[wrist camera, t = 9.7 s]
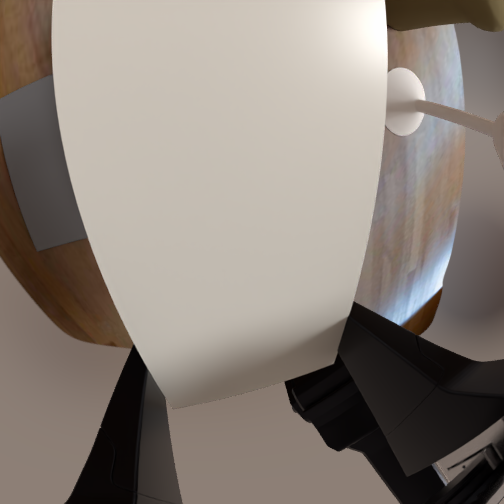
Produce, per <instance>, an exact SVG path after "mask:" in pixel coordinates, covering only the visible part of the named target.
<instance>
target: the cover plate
mask: <svg viewBox="0 0 504 504" xmlns="http://www.w3.org/2000/svg"><path fill="white" fill-rule="evenodd" d="M52 65H53V79H54V90H55V99H56V107H57V114H58V120H59V127H60V132H61V138H62V143H63V148H64V153H65V158H66V162H67V167H68V171H69V175H70V179H71V183H72V187H73V190H74V194H75V198H76V201H77V205H78V208H79V211H80V215H81V218H82V221H83V224H84V227H85V230H86V233H87V236H88V239H89V242H90V245H91V247H92V250H93V253H94V256H95V258H96V261H97V263H98V266H99V269H100V271H101V274H102V276H103V278H104V281H105V283H106V286H107V288H108V290H109V293H110V295H111V297H112V299H113V302H114V304H115V306H116V308H117V310H118V312H119V315H120V317H121V319H122V321H123V323H124V325H125V327H126V329H127V331H128V333H129V335H130V337H131V339H132V341H133V343H134V344H135V346H136V348H137V350H138V352H139V354H140V356H141V357H142V359H143V361H144V363H145V365H146V366H147V368H148V370H149V372H150V373H151V375H152V377H153V378H154V380H155V382H156V383H157V385H158V387H159V388H160V390H161V391H162V393H163V395H164V396H165V398H166V399H167V401H168V402H169V404H170V405H171V407H172V409H177V408H182V407H187V406H193V405H197V404H202V403H207V402H211V401H216V400H220V399H224V398H228V397H232V396H236V395H240V394H244V393H247V392H251V391H254V390H258V389H261V388H265V387H268V386H271V385H275V384H278V383H281V382H284V381H287V380H290V379H293V378H296V377H299V376H302V375H305V374H308V373H310V372H313V371H316V370H318V369H321V368H324V367H326V366H329V365H332V364H334V362H335V359H336V356H337V353H338V351H337V350H338V346H339V343H340V340H341V337H342V334H343V331H344V328H345V324H346V321H347V318H348V316H349V314H350V311H351V307H352V304H353V300H354V297H355V293H356V289H357V285H358V281H359V277H360V273H361V269H362V265H363V261H364V256H365V252H366V247H367V243H368V238H369V233H370V228H371V223H372V217H373V212H374V206H375V200H376V194H377V188H378V181H379V174H380V166H381V158H382V149H383V140H384V129H385V116H386V100H387V24H386V9H385V0H53V9H52Z"/></svg>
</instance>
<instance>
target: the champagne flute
mask: <svg viewBox="0 0 504 504" xmlns="http://www.w3.org/2000/svg"><path fill="white" fill-rule="evenodd" d="M424 113H425V114H428V115H432V116H435V117H438V118H441V119H445V120H448V121H451V122H454V123H457V124H459V125H462V126H465V127H468V128H470V129H473V130H476V131H478V132H481V133H483V134H486V135H488V136H490V137H493V142H494V146H495V149H496V151H497V154H498V156H499V159H500V161H501V164H502V167H503V169H504V112H502V113H501V114H500V115H499V116H498V117H497V119H496V121H495V122H493V121H490V120H488V119H485V118H482V117H479V116H477V115H474V114H471V113H468V112H464V111H461V110H458V109H455V108H451V107H448V106H444V105H441V104H437V103H433V102H429V101H425V93H424V89H423V87H422V84H421V82H420V80H419V79H418V78H417V76H416V75H415V74H414V73H413V72H412V71H410V70H408V69H406V68H395V69H392V70H391V71H389V72H388V73H387V100H386V116H385V125H386V127H387V128H388V129H389V130H390V131H391V132H392V133H394V134H396V135H399V136H406V135H409V134H411V133H413V132H414V131H415V130H416V129H417V128H418V127H419V125H420V123H421V121H422V119H423V116H424Z"/></svg>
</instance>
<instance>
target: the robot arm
mask: <svg viewBox="0 0 504 504" xmlns="http://www.w3.org/2000/svg"><path fill="white" fill-rule="evenodd" d="M337 351H338V353H337V356H336V359H335V362H334V364H332V365H329V366H326V367H324V368H321V369H318V370H316V371H313V372H310V373H308V374H305V375H302V376H299V377H296V378H293V379H290V380H287V381H284V382H285V386H286V389H287V393H288V397H289V400H290V404H291V405H292V409H293V411H294V412H295V413H298V414H299V415H300V416H301V417H302V418H303V419H304V420H305V421H307V422H309V423H312V424H313V425H314V426H315V428H316V429H317V430H318V432H319V433H320V435H321V436H322V438H323V440H324V441H325V443H326V444H327V446H328V447H330V448H332V449H334V450H336V451H342V450H343V449H345V448H349V449H352V450H355V451H358V452H361V453H363V455H364V456H365V457H366V458H367V460H368V461H369V462H370V464H371V465H372V466H373V468H374V469H375V471H376V472H377V473H378V475H379V476H380V477H381V479H382V480H383V481H384V483H385V484H386V486H387V487H388V488H389V490H390V491H391V492H392V493H393V495H394V496H395V497H396V499H397V500H398V501H399V503H400V504H499V502H500V501H501V500H502V499H503V498H504V359H502V360H495V361H487V362H479V361H474V360H471V359H468V358H466V357H463V356H461V355H458V354H456V353H454V352H451V351H449V350H447V349H444V348H442V347H440V346H438V345H436V344H434V343H431V342H430V341H428V340H425V339H424V338H422V337H420V336H418V335H415V334H414V333H412V332H410V331H409V330H407V329H405V328H403V327H401V326H399V325H397V324H395V323H394V322H392V321H390V320H388V319H386V318H384V317H382V316H380V315H379V314H377V313H375V312H373V311H371V310H369V309H367V308H365V307H364V306H362V305H360V304H358V303H356V302H354V301H353V304H352V307H351V311H350V314H349V316H348V318H347V321H346V324H345V328H344V331H343V334H342V337H341V340H340V343H339V346H338V350H337ZM436 462H438V463H439V465H440V466H441V468H442V470H443V471H444V473H445V474H446V475H447V477H448V478H449V480H450V482H448V481H447V479H446V478H445V476H444V475H443V473H442V472H441V470H440V469H439V467H438V465H437V464H436ZM64 504H183V503H182V499H181V494H180V489H179V484H178V479H177V474H176V469H175V463H174V457H173V452H172V445H171V439H170V431H169V424H168V416H167V408H166V400H165V396H164V395H163V393H162V391H161V390H160V388H159V387H158V385H157V383H156V382H155V380H154V378H153V377H152V375H151V373H150V372H149V370H148V368H147V366H146V365H145V363H144V361H143V359H142V357H141V356H140V354H139V352H138V350H137V348H136V346H135V344H134V345H133V347H132V349H131V352H130V354H129V356H128V358H127V361H126V363H125V365H124V368H123V370H122V373H121V375H120V377H119V380H118V382H117V385H116V387H115V389H114V392H113V395H112V397H111V400H110V402H109V405H108V407H107V410H106V413H105V415H104V418H103V421H102V423H101V428H100V429H99V431H98V434H97V437H96V439H95V442H94V445H93V447H92V450H91V452H90V455H89V457H88V459H87V461H86V463H85V466H84V468H83V470H82V472H81V474H80V476H79V479H78V481H77V483H76V485H75V487H74V489H73V492H72V493H71V496H70V497H69V498H68V500H67V501H66V502H65V503H64Z"/></svg>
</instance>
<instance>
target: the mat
mask: <svg viewBox="0 0 504 504" xmlns="http://www.w3.org/2000/svg"><path fill="white" fill-rule="evenodd" d="M0 136H1V141H2V146H3V151H4V155H5V159H6V163H7V167H8V171H9V175H10V178H11V182H12V185H13V188H14V192H15V195H16V198H17V201H18V204H19V207H20V210H21V213H22V215H23V218H24V221H25V223H26V226H27V229H28V231H29V234H30V236H31V238H32V241H33V243H34V246H35V248H36V250H37V251H41V250H44V249H48V248H51V247H55V246H59V245H62V244H66V243H70V242H74V241H77V240H81V239H85V238H88V236H87V233H86V230H85V227H84V224H83V221H82V218H81V215H80V211H79V208H78V205H77V201H76V198H75V194H74V190H73V187H72V183H71V179H70V175H69V171H68V167H67V162H66V158H65V153H64V148H63V143H62V138H61V132H60V127H59V120H58V114H57V107H56V99H55V90H54V79H53V74H52V75H49V76H47V77H45V78H42V79H40V80H38V81H35V82H33V83H31V84H29V85H26V86H24V87H22V88H20V89H18V90H16V91H14V92H12V93H10V94H8V95H6V96H5V97H3V98H1V99H0Z"/></svg>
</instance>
